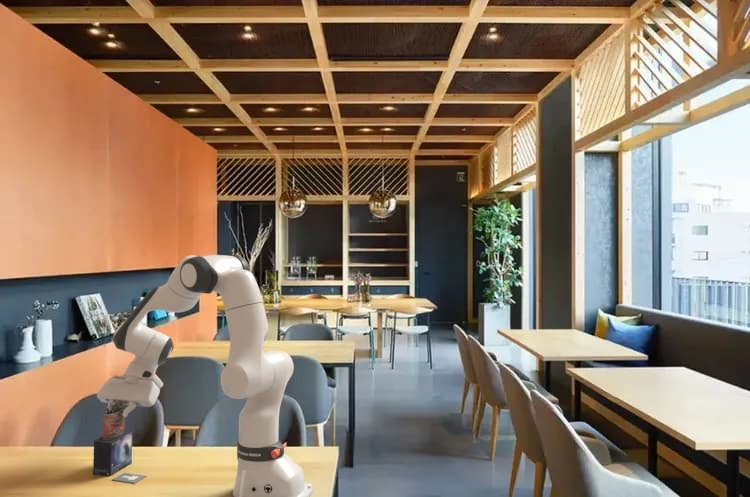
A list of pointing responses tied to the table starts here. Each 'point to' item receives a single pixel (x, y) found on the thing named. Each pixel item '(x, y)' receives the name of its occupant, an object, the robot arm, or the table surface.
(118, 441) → the small box
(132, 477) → the card
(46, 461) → the table surface
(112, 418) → the lighter
